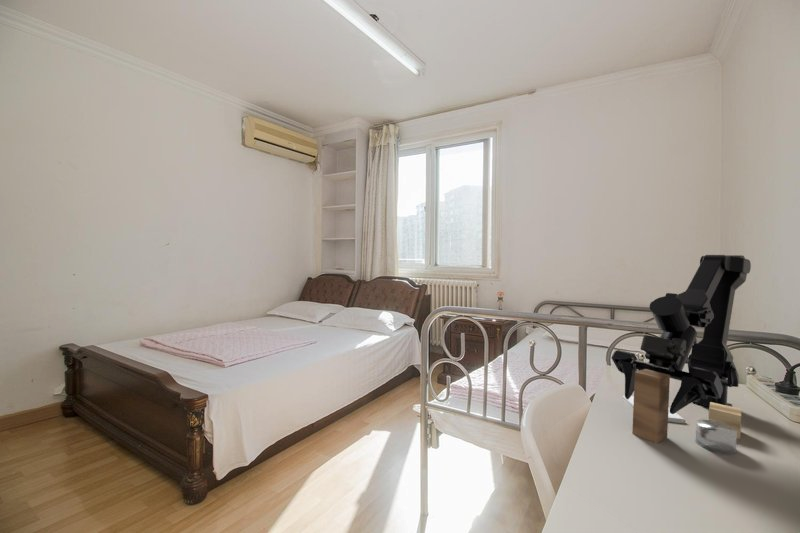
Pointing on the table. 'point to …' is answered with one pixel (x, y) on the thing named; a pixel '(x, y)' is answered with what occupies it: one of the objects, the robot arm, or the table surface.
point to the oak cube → (726, 416)
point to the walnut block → (651, 405)
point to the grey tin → (716, 437)
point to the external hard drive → (671, 417)
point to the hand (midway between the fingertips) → (647, 405)
